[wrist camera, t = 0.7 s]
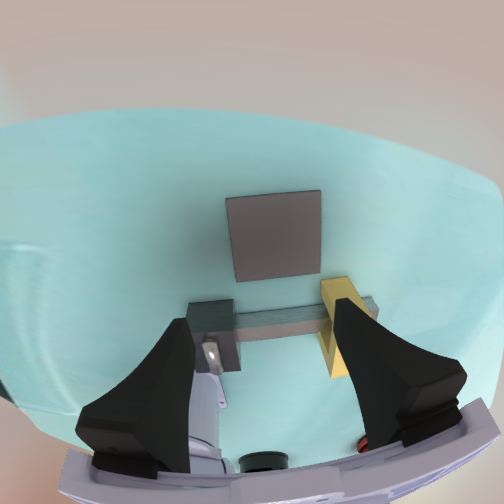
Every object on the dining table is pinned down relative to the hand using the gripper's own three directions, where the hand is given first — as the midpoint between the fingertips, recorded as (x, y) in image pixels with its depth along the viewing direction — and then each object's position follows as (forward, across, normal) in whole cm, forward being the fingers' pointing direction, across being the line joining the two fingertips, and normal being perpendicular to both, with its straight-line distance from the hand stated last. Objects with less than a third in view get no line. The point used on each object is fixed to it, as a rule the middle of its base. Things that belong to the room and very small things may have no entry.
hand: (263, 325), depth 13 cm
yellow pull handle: (+10, -7, +8) cm, 14 cm away
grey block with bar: (+10, -3, +8) cm, 13 cm away
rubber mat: (+10, -2, 0) cm, 10 cm away
